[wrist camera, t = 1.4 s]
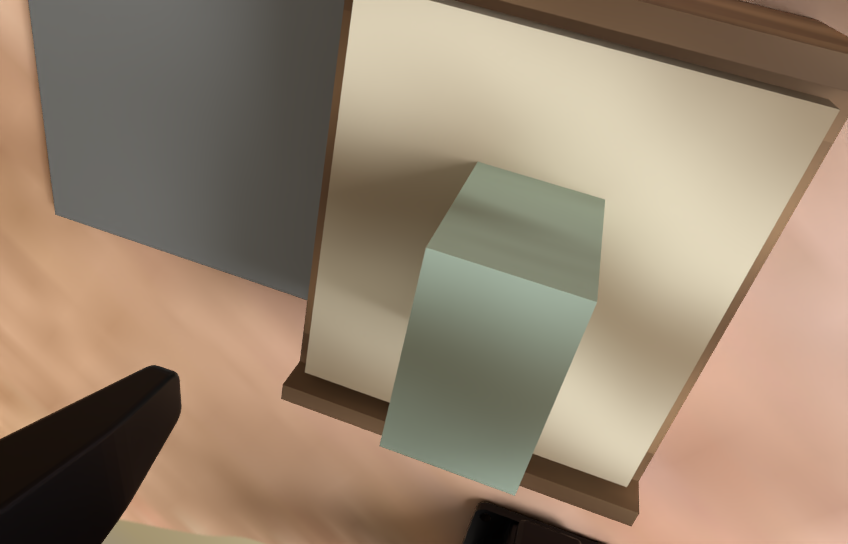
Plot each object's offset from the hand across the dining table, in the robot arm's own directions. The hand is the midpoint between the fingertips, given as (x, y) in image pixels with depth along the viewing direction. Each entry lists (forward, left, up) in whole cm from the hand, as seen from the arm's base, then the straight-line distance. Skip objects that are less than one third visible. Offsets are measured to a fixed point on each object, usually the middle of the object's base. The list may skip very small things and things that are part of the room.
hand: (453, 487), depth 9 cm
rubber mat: (0, +13, -13) cm, 18 cm away
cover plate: (0, 0, -8) cm, 8 cm away
